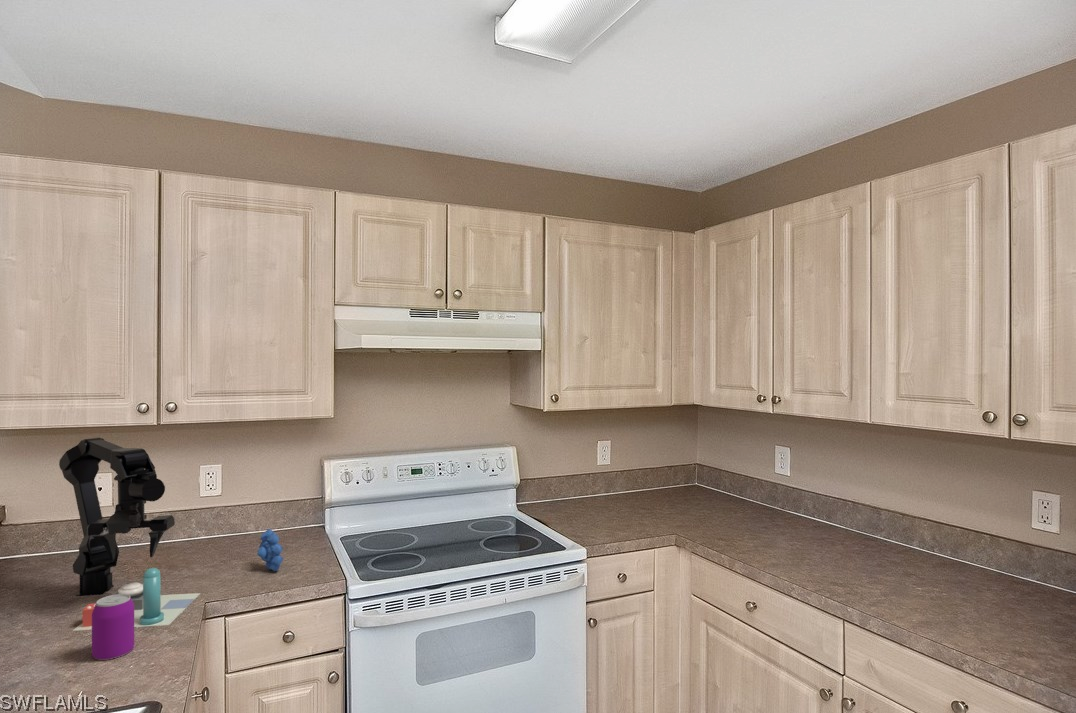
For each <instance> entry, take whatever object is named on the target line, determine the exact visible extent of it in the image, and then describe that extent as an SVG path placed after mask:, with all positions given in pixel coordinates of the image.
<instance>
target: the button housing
mask: <svg viewBox="0 0 1076 713" xmlns="http://www.w3.org/2000/svg"><path fill="white" fill-rule="evenodd" d="M116 594H118V590H117V591H116V592H114V593H113V594H112V595H116ZM131 600H132V602H133V604H134V610H142V609H143V593H141V594H139V595H136V596H131Z"/></svg>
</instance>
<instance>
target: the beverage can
mask: <svg viewBox="0 0 1076 713" xmlns="http://www.w3.org/2000/svg"><path fill="white" fill-rule="evenodd" d="M95 603H96V605H95V607H94V610H93V612H92V630H91V655H92V657H93V658H94V659H95V660H99V661H107V660H108V661H109V659H110V660H114V659H113V658H115V659H118V658H121V657H123V655H124V656H125V654H126V655H127V654H129V653H131V651H133V650H134V648H135V627H134V604H133V602H132V600H131V597H130V595H128V594H116V595H113V594H110V595H107V596H104V597H101V598H99V599H98V600H96V602H95ZM120 656H121V657H120ZM117 657H118V658H117Z"/></svg>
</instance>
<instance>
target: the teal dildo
mask: <svg viewBox="0 0 1076 713" xmlns="http://www.w3.org/2000/svg"><path fill="white" fill-rule="evenodd" d="M142 584H143V615H142V616H141V617H140V624H141V625H152V624H156V623H159V622H161V621H163V620H164V613H163V612H161V595H162V594H161V592H162V591H161V571H160V569H158V568H157V567H150V568H148V569H146V570H145V571H144V573H143V576H142Z"/></svg>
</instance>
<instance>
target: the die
mask: <svg viewBox="0 0 1076 713" xmlns="http://www.w3.org/2000/svg"><path fill="white" fill-rule="evenodd" d="M95 605H96V602H95V603H89V604H87V605H86V606H85V607H84V609H82V623H83V627H88V626H92V612H93V610H94V607H95Z"/></svg>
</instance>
